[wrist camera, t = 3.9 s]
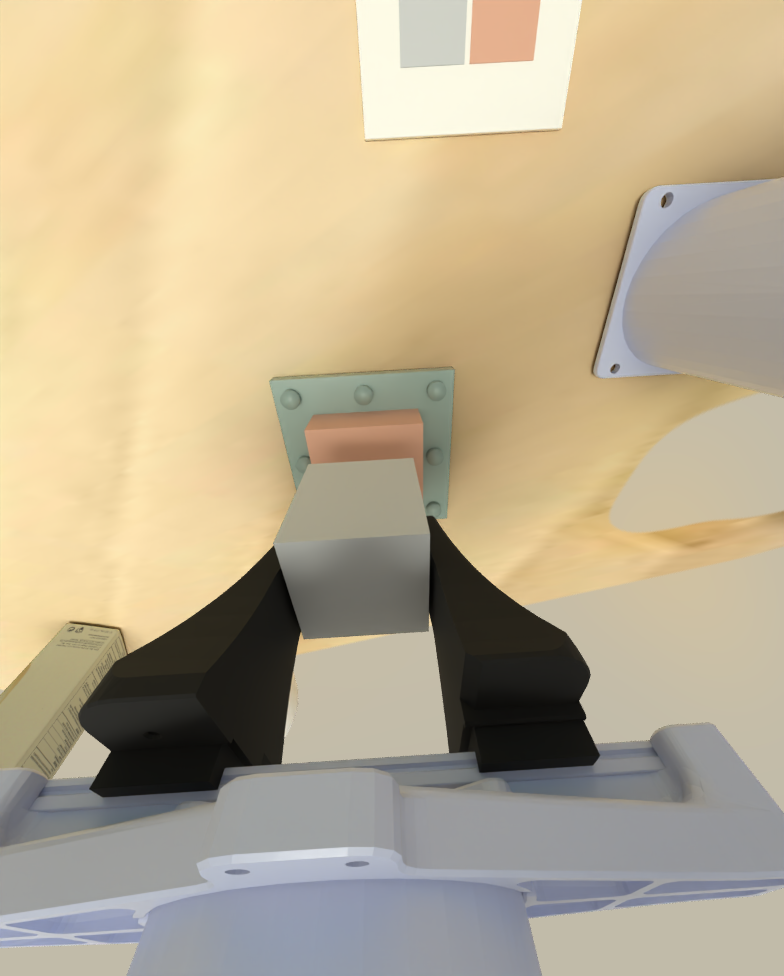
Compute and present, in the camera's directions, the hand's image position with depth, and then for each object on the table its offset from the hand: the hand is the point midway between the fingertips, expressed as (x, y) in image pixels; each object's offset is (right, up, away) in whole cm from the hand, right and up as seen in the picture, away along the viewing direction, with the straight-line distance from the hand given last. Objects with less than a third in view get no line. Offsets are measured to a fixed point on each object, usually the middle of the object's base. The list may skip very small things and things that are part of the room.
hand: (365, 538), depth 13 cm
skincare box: (-26, -13, +17) cm, 34 cm away
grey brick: (0, +1, +1) cm, 2 cm away
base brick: (0, +4, +6) cm, 8 cm away
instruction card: (+4, +19, -2) cm, 20 cm away
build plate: (0, +4, +7) cm, 8 cm away
